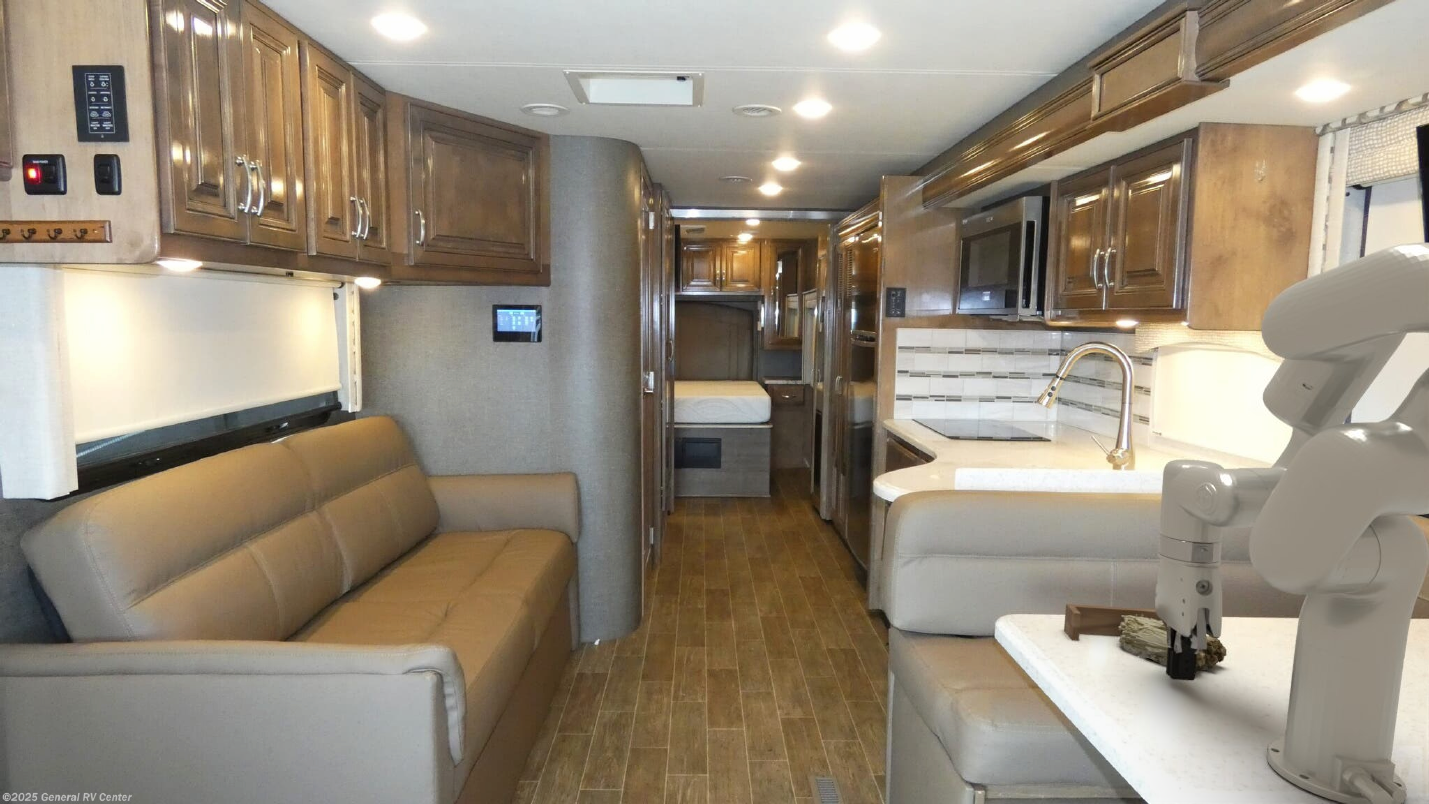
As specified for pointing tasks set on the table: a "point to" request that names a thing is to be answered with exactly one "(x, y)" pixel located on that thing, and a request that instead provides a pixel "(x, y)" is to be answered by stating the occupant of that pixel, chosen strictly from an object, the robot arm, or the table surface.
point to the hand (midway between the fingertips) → (1180, 677)
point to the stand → (1099, 619)
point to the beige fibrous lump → (1162, 642)
